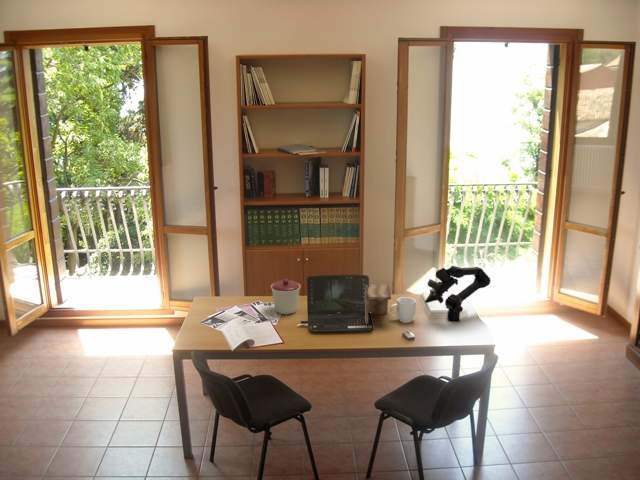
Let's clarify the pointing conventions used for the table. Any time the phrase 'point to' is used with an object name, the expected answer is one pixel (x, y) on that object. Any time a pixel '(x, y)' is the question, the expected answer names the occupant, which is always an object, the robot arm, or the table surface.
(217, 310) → the table surface
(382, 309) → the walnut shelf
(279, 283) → the canister
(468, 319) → the table surface
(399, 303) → the mug
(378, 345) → the table surface
